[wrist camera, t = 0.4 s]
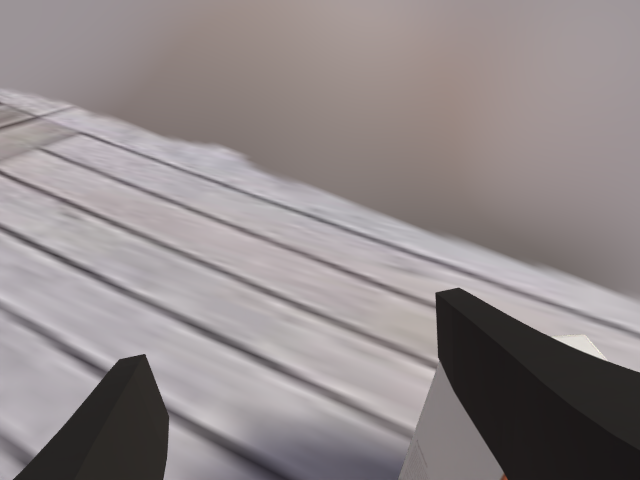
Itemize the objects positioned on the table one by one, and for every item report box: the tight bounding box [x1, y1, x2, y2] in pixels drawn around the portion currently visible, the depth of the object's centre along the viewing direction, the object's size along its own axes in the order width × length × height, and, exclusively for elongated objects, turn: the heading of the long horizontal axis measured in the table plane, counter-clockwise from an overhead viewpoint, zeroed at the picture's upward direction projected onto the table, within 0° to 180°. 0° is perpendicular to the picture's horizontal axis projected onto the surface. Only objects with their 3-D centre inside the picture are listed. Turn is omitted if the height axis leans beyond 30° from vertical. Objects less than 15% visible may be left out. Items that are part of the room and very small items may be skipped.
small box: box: [398, 334, 608, 480], centre depth 25 cm, size 8×6×13 cm
